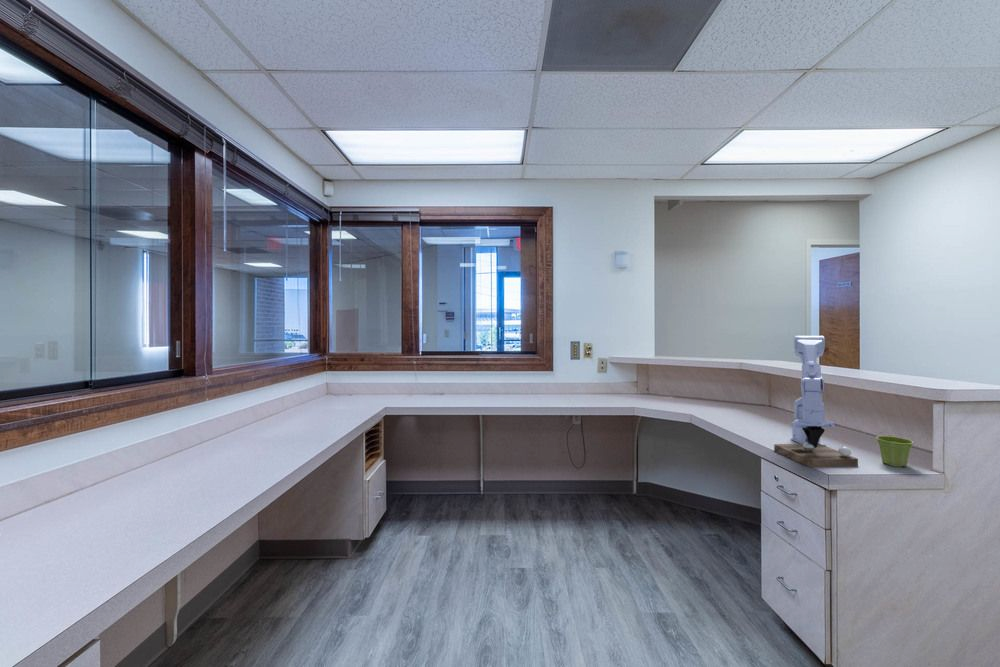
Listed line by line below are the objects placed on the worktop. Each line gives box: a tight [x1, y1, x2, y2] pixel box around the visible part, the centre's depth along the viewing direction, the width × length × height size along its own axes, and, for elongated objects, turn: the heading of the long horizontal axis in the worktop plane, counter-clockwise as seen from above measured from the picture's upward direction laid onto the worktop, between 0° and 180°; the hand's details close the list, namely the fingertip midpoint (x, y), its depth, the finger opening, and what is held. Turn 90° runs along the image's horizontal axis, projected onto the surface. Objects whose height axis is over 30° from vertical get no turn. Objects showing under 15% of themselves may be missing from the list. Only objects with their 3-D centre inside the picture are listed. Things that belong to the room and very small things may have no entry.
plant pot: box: [875, 435, 914, 467], centre depth 143 cm, size 9×9×9 cm
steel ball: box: [803, 442, 815, 452], centre depth 151 cm, size 4×4×4 cm
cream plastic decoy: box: [837, 446, 852, 457], centre depth 145 cm, size 4×4×4 cm
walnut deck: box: [773, 443, 859, 468], centre depth 151 cm, size 18×17×2 cm
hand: (812, 447), depth 151 cm, fingers closed, pressing on steel ball
